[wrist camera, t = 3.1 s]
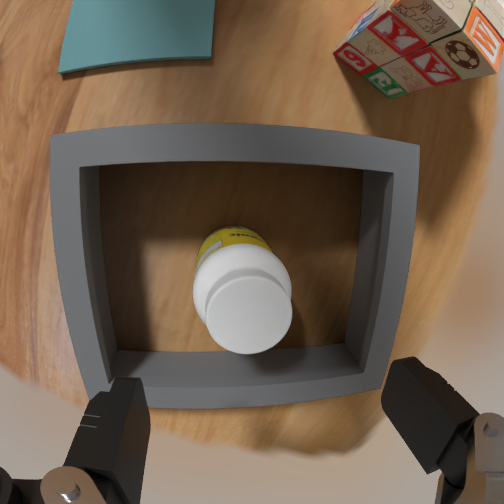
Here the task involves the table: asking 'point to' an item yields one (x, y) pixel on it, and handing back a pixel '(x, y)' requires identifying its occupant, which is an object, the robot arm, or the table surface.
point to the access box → (230, 363)
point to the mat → (135, 32)
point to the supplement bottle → (242, 291)
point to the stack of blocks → (424, 43)
